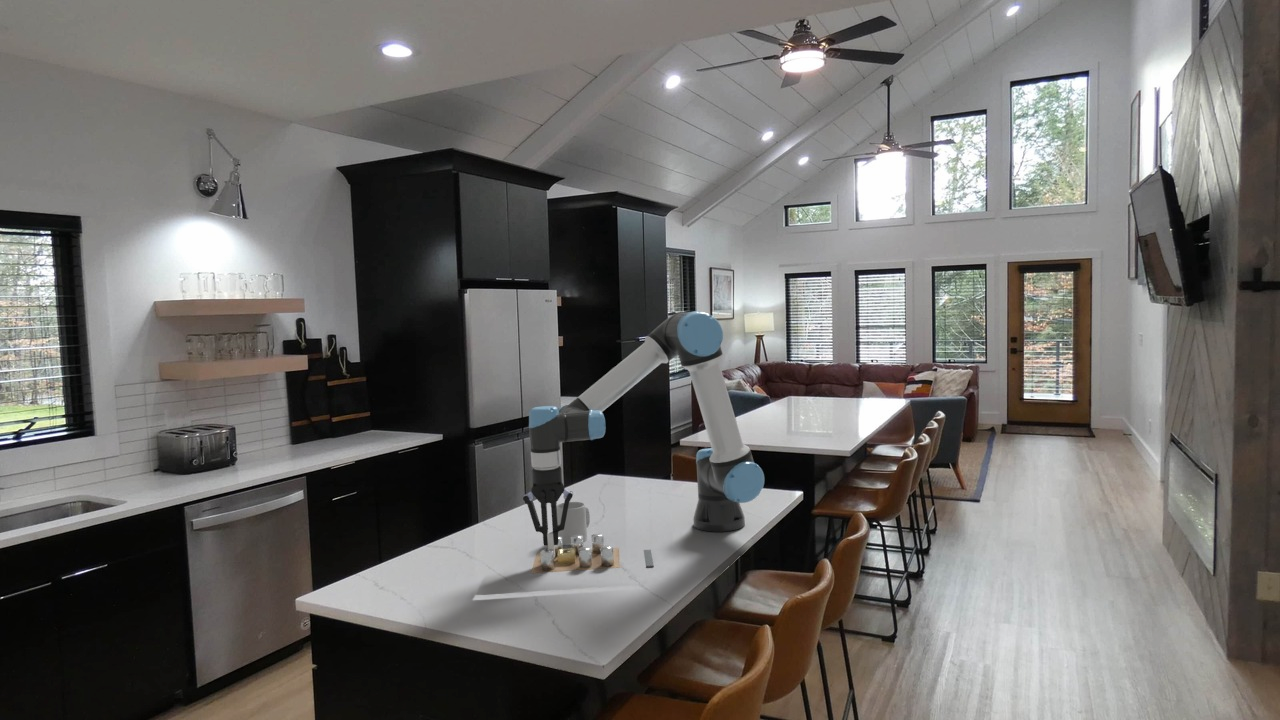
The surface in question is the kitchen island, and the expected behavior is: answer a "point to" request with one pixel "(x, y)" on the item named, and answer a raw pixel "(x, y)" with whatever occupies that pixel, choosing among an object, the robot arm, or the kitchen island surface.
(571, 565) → the board
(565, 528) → the mug
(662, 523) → the kitchen island surface
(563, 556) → the nut
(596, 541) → the spacers
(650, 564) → the mat
